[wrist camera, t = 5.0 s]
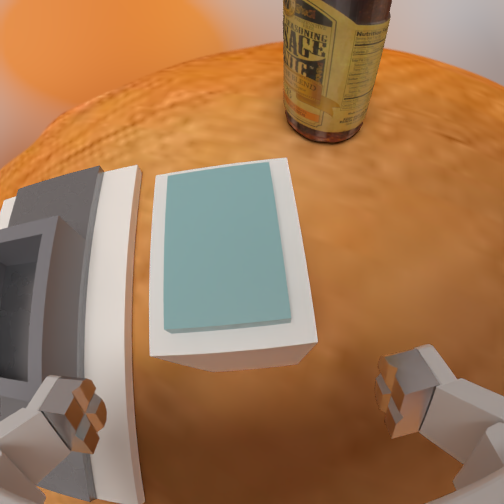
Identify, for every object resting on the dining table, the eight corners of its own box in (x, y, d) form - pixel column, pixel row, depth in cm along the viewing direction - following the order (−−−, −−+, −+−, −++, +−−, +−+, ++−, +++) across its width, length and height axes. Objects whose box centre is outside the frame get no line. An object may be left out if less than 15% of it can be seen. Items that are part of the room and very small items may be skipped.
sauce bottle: (274, 101, 24) (256, -136, 6) (343, 92, 24) (361, -126, 6) (299, 158, 21) (300, -149, 3) (378, 144, 22) (433, -118, 3)
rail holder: (142, 173, 22) (116, 126, 18) (145, 501, 13) (104, 529, 9) (10, 205, 23) (-22, 175, 18) (-9, 458, 14) (-55, 459, 9)
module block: (284, 260, 19) (286, 145, 10) (297, 364, 16) (320, 338, 7) (207, 268, 19) (150, 165, 10) (213, 372, 16) (141, 353, 8)
